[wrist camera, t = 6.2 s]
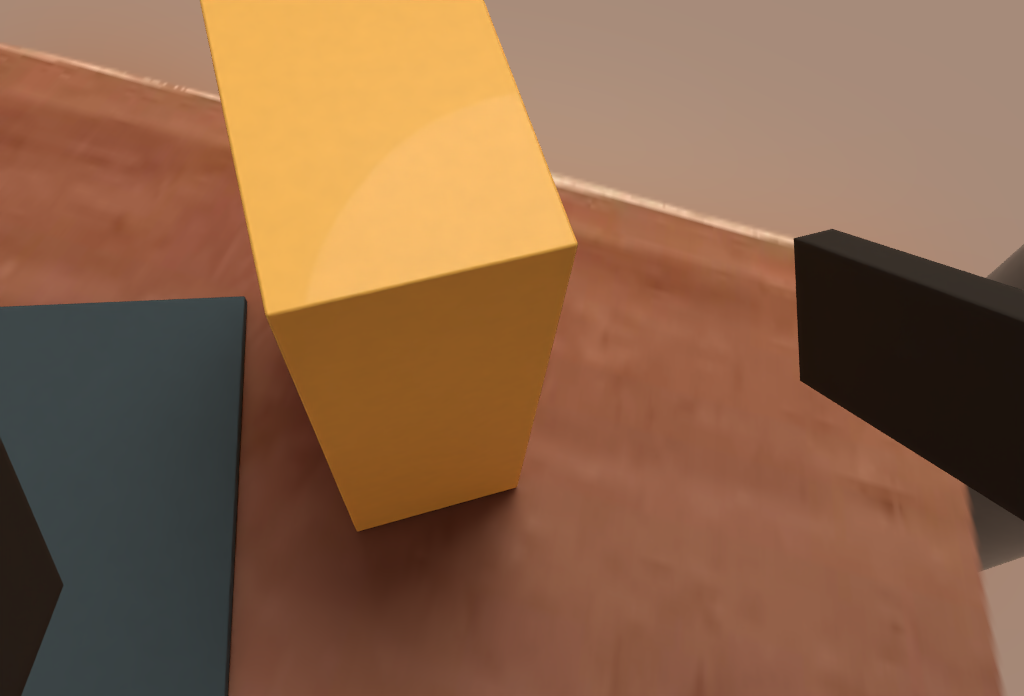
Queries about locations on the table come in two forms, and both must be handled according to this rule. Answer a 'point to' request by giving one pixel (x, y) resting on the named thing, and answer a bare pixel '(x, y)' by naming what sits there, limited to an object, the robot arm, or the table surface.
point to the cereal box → (396, 237)
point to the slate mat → (130, 486)
